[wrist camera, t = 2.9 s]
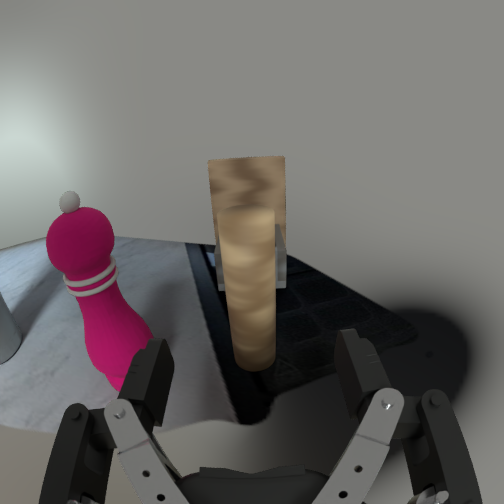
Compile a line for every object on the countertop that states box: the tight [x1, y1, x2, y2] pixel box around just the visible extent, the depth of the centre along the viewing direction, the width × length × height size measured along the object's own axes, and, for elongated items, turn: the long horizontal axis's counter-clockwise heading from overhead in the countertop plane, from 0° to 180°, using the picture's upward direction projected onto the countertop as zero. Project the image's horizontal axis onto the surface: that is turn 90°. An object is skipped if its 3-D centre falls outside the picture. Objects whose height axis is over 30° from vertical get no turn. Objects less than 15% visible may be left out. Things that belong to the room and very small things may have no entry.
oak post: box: [217, 204, 276, 372], centre depth 25 cm, size 4×4×16 cm
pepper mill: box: [46, 191, 154, 392], centre depth 21 cm, size 7×7×20 cm
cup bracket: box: [208, 156, 286, 291], centre depth 35 cm, size 10×10×18 cm
